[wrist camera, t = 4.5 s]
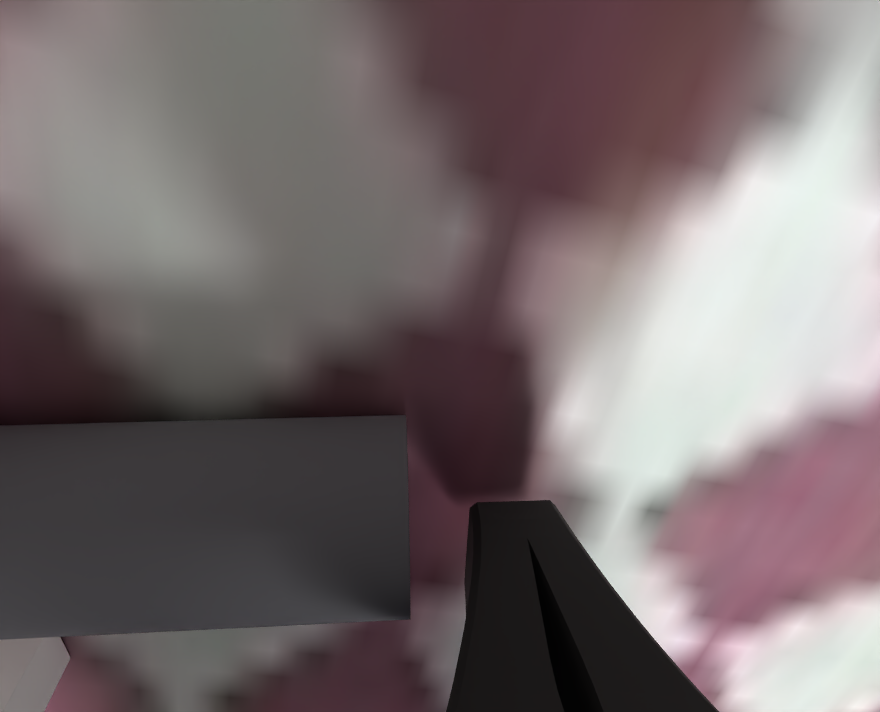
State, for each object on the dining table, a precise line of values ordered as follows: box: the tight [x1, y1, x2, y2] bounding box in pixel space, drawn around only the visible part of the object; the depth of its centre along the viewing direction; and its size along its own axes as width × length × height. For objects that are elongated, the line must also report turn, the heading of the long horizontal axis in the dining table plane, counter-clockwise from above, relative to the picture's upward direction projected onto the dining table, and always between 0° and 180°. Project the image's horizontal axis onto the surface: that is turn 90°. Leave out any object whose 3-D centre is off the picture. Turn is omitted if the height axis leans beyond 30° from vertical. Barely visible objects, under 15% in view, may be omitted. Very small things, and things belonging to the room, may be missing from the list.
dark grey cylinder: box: [0, 415, 410, 640], centre depth 9 cm, size 8×3×3 cm
